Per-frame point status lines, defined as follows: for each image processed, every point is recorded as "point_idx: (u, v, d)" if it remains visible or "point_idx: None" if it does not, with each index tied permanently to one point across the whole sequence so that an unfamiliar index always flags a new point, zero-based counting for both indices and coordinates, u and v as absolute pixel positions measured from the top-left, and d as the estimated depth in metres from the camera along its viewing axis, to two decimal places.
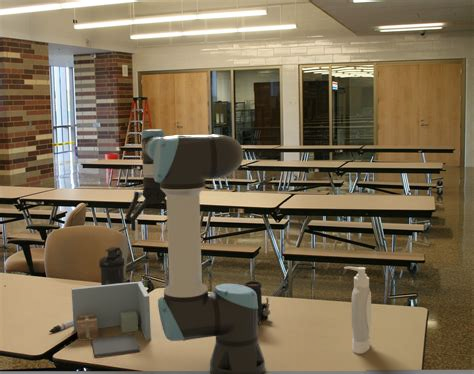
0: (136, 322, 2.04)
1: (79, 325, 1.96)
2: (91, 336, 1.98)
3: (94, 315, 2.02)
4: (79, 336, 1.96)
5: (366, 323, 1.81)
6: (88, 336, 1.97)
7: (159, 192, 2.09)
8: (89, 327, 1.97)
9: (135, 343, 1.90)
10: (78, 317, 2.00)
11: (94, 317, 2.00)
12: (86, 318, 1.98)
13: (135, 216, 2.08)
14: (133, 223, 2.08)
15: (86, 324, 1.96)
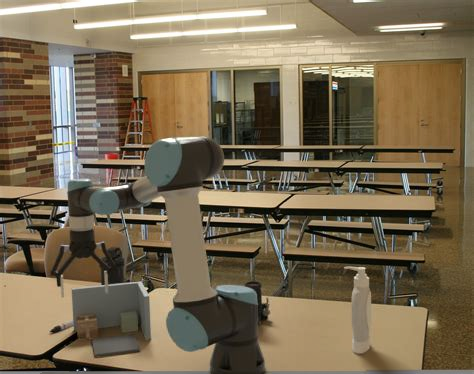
0: (136, 322, 2.04)
1: (79, 325, 1.96)
2: (91, 336, 1.98)
3: (94, 315, 2.02)
4: (79, 336, 1.96)
5: (366, 323, 1.81)
6: (88, 336, 1.97)
7: (87, 246, 1.96)
8: (89, 327, 1.97)
9: (135, 343, 1.90)
10: (78, 317, 2.00)
11: (94, 317, 2.00)
12: (86, 318, 1.98)
13: (60, 271, 1.94)
14: (58, 279, 1.95)
15: (86, 324, 1.96)
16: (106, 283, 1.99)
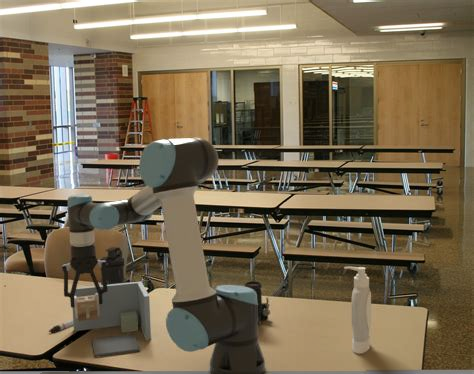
0: (136, 322, 2.04)
1: (79, 305, 1.95)
2: (91, 317, 1.96)
3: (94, 296, 2.00)
4: (79, 316, 1.95)
5: (366, 323, 1.81)
6: (88, 316, 1.96)
7: (89, 261, 1.96)
8: (89, 307, 1.96)
9: (135, 343, 1.90)
10: (78, 298, 1.99)
11: (94, 297, 1.99)
12: (86, 298, 1.97)
13: (72, 292, 1.96)
14: (72, 300, 1.96)
15: (86, 304, 1.95)
16: (97, 305, 1.98)
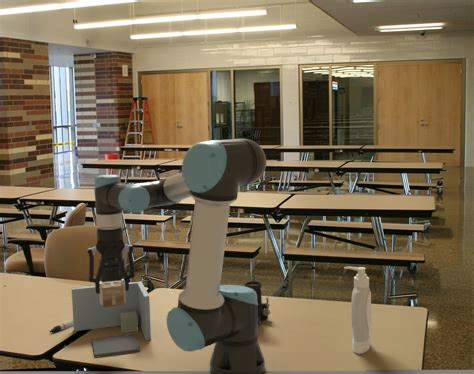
0: (136, 322, 2.04)
1: (105, 291, 1.85)
2: (117, 303, 1.87)
3: (120, 281, 1.91)
4: (104, 303, 1.85)
5: (366, 323, 1.81)
6: (114, 303, 1.86)
7: (116, 245, 1.86)
8: (115, 293, 1.86)
9: (135, 343, 1.90)
10: (103, 283, 1.89)
11: (120, 283, 1.89)
12: (112, 284, 1.87)
13: (98, 277, 1.86)
14: (97, 285, 1.86)
15: (112, 290, 1.85)
16: None
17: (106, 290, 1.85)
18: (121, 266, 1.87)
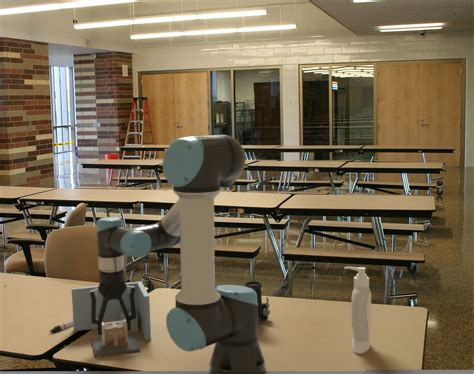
0: (136, 322, 2.04)
1: (107, 332, 1.87)
2: (119, 344, 1.88)
3: (121, 322, 1.92)
4: (107, 344, 1.87)
5: (366, 323, 1.81)
6: (116, 344, 1.88)
7: (118, 287, 1.88)
8: (117, 334, 1.88)
9: (135, 343, 1.90)
10: (105, 324, 1.91)
11: (122, 324, 1.90)
12: (114, 325, 1.89)
13: (100, 319, 1.87)
14: (100, 327, 1.88)
15: (114, 331, 1.87)
16: None
17: (108, 331, 1.87)
18: (123, 307, 1.89)
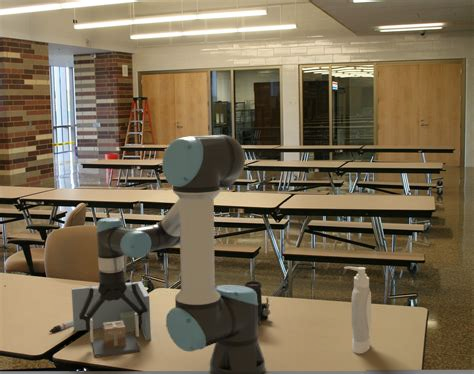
0: None
1: (107, 332, 1.87)
2: (119, 344, 1.88)
3: (121, 322, 1.92)
4: (107, 344, 1.87)
5: (366, 323, 1.81)
6: (116, 344, 1.88)
7: (117, 287, 1.88)
8: (117, 334, 1.88)
9: (135, 343, 1.90)
10: (105, 324, 1.91)
11: (122, 324, 1.90)
12: (114, 325, 1.89)
13: (90, 315, 1.86)
14: (88, 322, 1.87)
15: (114, 331, 1.87)
16: (137, 326, 1.91)
17: (108, 331, 1.87)
18: (130, 304, 1.89)
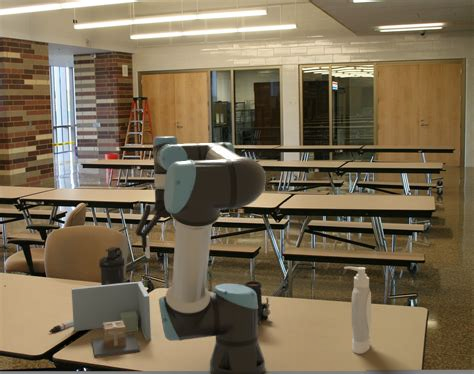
0: (136, 322, 2.04)
1: (107, 332, 1.87)
2: (119, 344, 1.88)
3: (121, 322, 1.92)
4: (107, 344, 1.87)
5: (366, 323, 1.81)
6: (116, 344, 1.88)
7: None
8: (117, 334, 1.88)
9: (135, 343, 1.90)
10: (105, 324, 1.91)
11: (122, 324, 1.90)
12: (114, 325, 1.89)
13: (146, 231, 1.89)
14: (144, 239, 1.90)
15: (114, 331, 1.87)
16: None
17: (108, 331, 1.87)
18: None
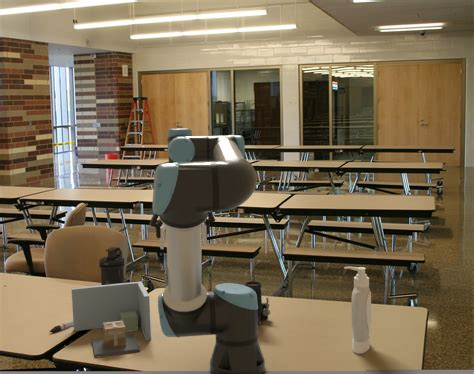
0: (136, 322, 2.04)
1: (107, 332, 1.87)
2: (119, 344, 1.88)
3: (121, 322, 1.92)
4: (107, 344, 1.87)
5: (366, 323, 1.81)
6: (116, 344, 1.88)
7: None
8: (117, 334, 1.88)
9: (135, 343, 1.90)
10: (105, 324, 1.91)
11: (122, 324, 1.90)
12: (114, 325, 1.89)
13: (160, 222, 1.91)
14: (158, 230, 1.92)
15: (114, 331, 1.87)
16: (205, 235, 1.96)
17: (108, 331, 1.87)
18: None
